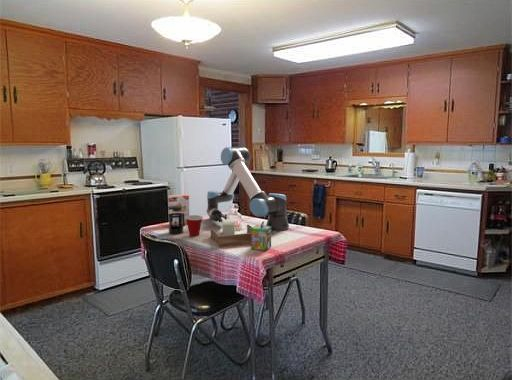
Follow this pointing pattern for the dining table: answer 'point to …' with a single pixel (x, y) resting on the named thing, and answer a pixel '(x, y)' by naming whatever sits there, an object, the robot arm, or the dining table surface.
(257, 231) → the chalk box
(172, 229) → the french press
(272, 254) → the dining table surface
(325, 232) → the dining table surface
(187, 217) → the plastic cup
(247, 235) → the box
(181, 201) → the cracker box
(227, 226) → the tile block
